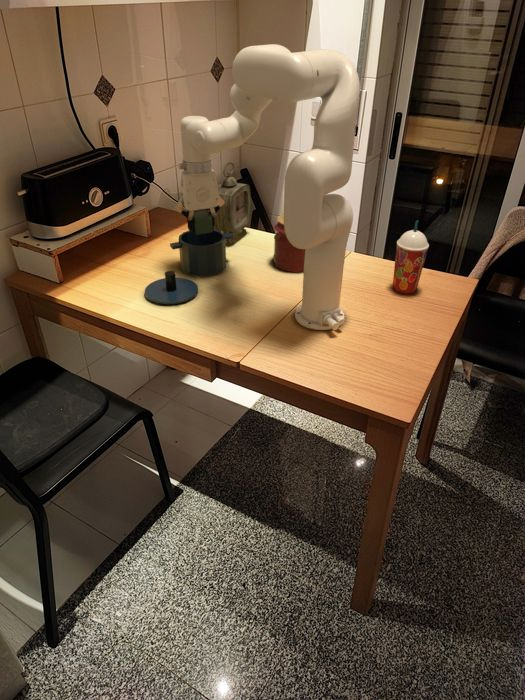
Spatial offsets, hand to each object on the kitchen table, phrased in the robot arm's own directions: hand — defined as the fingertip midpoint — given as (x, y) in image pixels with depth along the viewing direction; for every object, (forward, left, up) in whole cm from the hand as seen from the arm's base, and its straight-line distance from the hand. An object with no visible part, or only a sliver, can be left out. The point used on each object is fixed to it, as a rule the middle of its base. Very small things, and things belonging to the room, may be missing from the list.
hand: (201, 229), depth 151 cm
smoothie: (-38, -46, -12) cm, 61 cm away
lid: (-12, +14, -11) cm, 22 cm away
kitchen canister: (-10, -26, -12) cm, 30 cm away
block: (0, 0, 0) cm, 0 cm away
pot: (0, 0, -12) cm, 12 cm away
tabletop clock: (+17, -16, -12) cm, 26 cm away
